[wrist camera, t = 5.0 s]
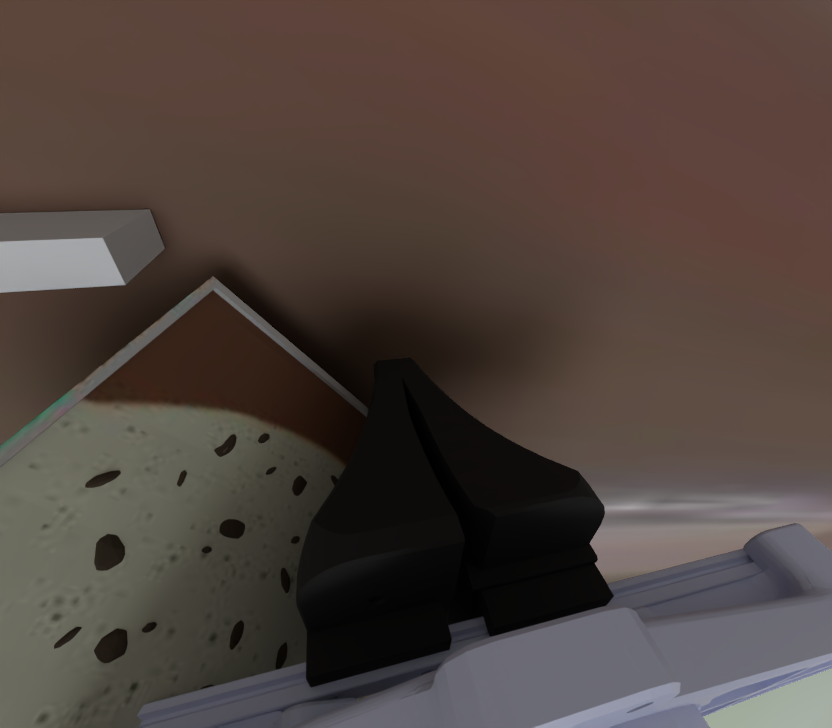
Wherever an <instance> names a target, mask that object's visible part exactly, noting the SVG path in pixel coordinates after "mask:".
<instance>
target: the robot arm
mask: <svg viewBox="0 0 832 728" xmlns="http://www.w3.org/2000/svg"><path fill="white" fill-rule="evenodd" d="M374 379H375V382H374V389H373V394H372V399H371V404H370V407H369V411H368V414H367V418H366V421H365V424H364V427H363V429H362V432H361V435H360V437H359V440H358V442H357V444H356V447H355V449H354V451H353V453H352V455H351V457H350V459H349V461H348V463H347V465H346V467H345V469H344V471H343V472H342V474H341V476H340V478H339V479H338V481H337V483H336V484H335V486H334V488H333V490H332V491H331V493H330V494H329V496H328V497H327V499H326V500H325V502H324V503H323V505H322V506H321V507H320V509H319V510H318V512H317V513H316V515H315V516H314V518H313V519H312V521H311V523H310V526H309V529H308V532H307V535H306V538H305V542H304V545H303V549H302V552H301V556H300V561H299V566H298V573H297V588H296V603H297V608H298V611H299V613H300V615H301V618H302V620H303V623H304V625H305V628H306V630H307V649H306V662H304V663H300V664H297V665H293V666H289V667H285V668H281V669H277V670H273V671H270V672H266V673H262V674H258V675H254V676H250V677H246V678H243V679H239V680H235V681H231V682H227V683H223V684H219V685H216V686H212V687H208V688H204V689H200V690H196V691H192V692H189V693H185V694H181V695H177V696H173V697H169V698H166V699H162V700H158V701H154V702H150V703H146V704H145V705H143V707H142V708H141V710H140V711H139V713H138V715H137V717H139V718H140V719H141V720H142V722H141V724H140V726H138V727H136V728H710V727H709V726H708V724H707V722H706V721H705V719H704V718H703V716H706V715H709V714H711V713H714V712H716V711H719V710H722V709H724V708H727V707H729V706H732V705H735V704H737V703H740V702H743V701H745V700H748V699H750V698H753V697H756V696H758V695H761V694H764V693H766V692H769V691H771V690H774V689H777V688H779V687H782V686H785V685H787V684H790V683H793V682H795V681H798V680H801V679H803V678H806V677H809V676H812V675H814V674H817V673H820V672H823V671H825V670H828V669H831V668H832V551H831V550H829V549H828V548H827V547H826V546H825V545H824V544H822V543H821V542H820V541H819V540H818V539H817V538H816V537H814V536H813V535H812V534H811V533H810V532H809V531H807V530H806V529H805V528H804V527H803V526H802V525H800V524H796V523H794V524H790V525H786V526H782V527H778V528H774V529H770V530H766V531H764V532H761V533H759V534H757V535H756V536H754V537H753V538H752V539H750V540H749V541H748V542H747V543H746V544H745V545H744V548H743V549H740V550H736V551H732V552H728V553H725V554H721V555H717V556H713V557H709V558H705V559H701V560H698V561H694V562H690V563H686V564H682V565H678V566H674V567H671V568H667V569H663V570H659V571H655V572H651V573H647V574H644V575H640V576H636V577H632V578H628V579H624V580H620V581H617V582H613V583H609V584H607V583H606V582H605V580H604V578H603V577H602V575H601V573H600V572H599V570H598V568H597V567H596V565H595V562H596V561H597V560H598V559H597V555H596V553H595V552H594V550H593V549H592V547H591V545H590V544H589V543H590V541H591V540H592V538H593V536H594V535H595V533H596V531H597V530H598V528H599V526H600V525H601V523H602V520H603V518H604V514H605V511H604V505H603V504H602V503H601V501H600V500H599V498H598V497H597V496H596V494H595V492H594V491H593V490H592V488H591V487H590V485H589V484H588V483H587V482H586V480H585V479H584V478H583V477H582V475H581V474H580V473H579V472H578V471H576V470H574V469H571V468H569V467H567V466H564V465H562V464H559V463H557V462H554V461H552V460H549V459H547V458H544V457H542V456H540V455H538V454H536V453H534V452H532V451H530V450H528V449H526V448H523V447H522V446H520V445H518V444H516V443H514V442H512V441H510V440H508V439H507V438H505V437H503V436H502V435H500V434H498V433H497V432H495V431H493V430H492V429H490V428H488V427H487V426H485V425H484V424H482V423H481V422H480V421H478V420H477V419H475V418H474V417H473V416H471V415H470V414H468V413H467V412H466V411H465V410H463V409H462V408H461V407H460V406H459V405H457V404H456V403H455V402H454V401H453V400H452V399H450V398H449V397H448V396H447V395H446V394H445V393H444V392H443V391H442V390H441V389H440V388H439V387H438V386H437V385H436V384H435V383H434V382H433V381H432V380H431V379H430V378H429V377H428V376H427V375H426V374H425V373H424V372H423V371H422V370H421V368H420V367H419V366H418V365H417V364H416V363H415V362H414V360H412V359H411V358H403V359H393V360H384V361H377V362H376V363H375V364H374ZM374 693H376V694H374ZM371 694H373V695H371ZM367 695H371V696H368V697H366V698H363V699H360V700H358V701H357V700H356V699H357V698H360V697H364V696H367Z"/></svg>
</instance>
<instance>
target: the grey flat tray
mask: <svg viewBox="0 0 832 728" xmlns="http://www.w3.org/2000/svg"><path fill="white" fill-rule="evenodd" d="M164 249H165V247H164V245H163V242H162V239H161V237H160V234H159V232H158V229H157V227H156V224H155V222H154V219H153V216H152V214H151V211H150V209H144V210H105V211H65V212H26V213H0V293H1V292H18V291H34V290H51V289H67V288H84V287H100V286H116V285H126V284H127V283H128V282H129V281H130V280H131V279H133V278H134V277H135V276H136V275H137V274H138V273H139V272H140V271H141V270H142V269H143V268H144V267H146V266H147V265H148V264H149V263H150V262H151V261H152V260H153V259H154V258H155V257H156V256H158V255H159V254H160V253H161V252H162V251H163V250H164Z"/></svg>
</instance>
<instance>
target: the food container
mask: <svg viewBox="0 0 832 728" xmlns="http://www.w3.org/2000/svg"><path fill="white" fill-rule="evenodd" d="M368 411H369V409H368V408H367V407H366V406H365V405H364V404H363V403H361V402H360V401H359V400H358V399H357V398H355V397H354V396H353V395H352V394H351V393H350V392H348V391H347V390H346V389H345V388H344V387H343V386H341V385H340V384H339V383H338V382H337V381H336V380H334V379H333V378H332V377H331V376H330V375H328V374H327V373H326V372H325V371H324V370H323V369H321V368H320V367H319V366H318V365H317V364H316V363H314V362H313V361H312V360H311V359H310V358H309V357H307V356H306V355H305V354H304V353H303V352H301V351H300V350H299V349H298V348H297V347H296V346H294V345H293V344H292V343H291V342H290V341H289V340H287V339H286V338H285V337H284V336H283V335H281V334H280V333H279V332H278V331H277V330H276V329H274V328H273V327H272V326H271V325H270V324H269V323H267V322H266V321H265V320H264V319H263V318H262V317H260V316H259V315H258V314H257V313H256V312H254V311H253V310H252V309H251V308H250V307H249V306H247V305H246V304H245V303H244V302H243V301H242V300H240V299H239V298H238V297H237V296H236V295H235V294H233V293H232V292H231V291H230V290H229V289H227V288H226V287H225V286H224V285H223V284H222V283H220V282H219V281H218V280H217V279H216V278H215V277H213V276H212V277H211V278H210V279H209V280H207V281H206V282H205V283H204V284H202V285H201V286H200V287H199V288H197V289H196V290H195V291H194V292H192V293H191V294H190V295H189V296H187V297H186V298H185V299H184V300H182V301H181V302H180V303H179V304H177V305H176V306H175V307H174V308H172V309H171V310H170V311H169V312H167V313H166V314H165V315H164V316H162V317H161V318H160V319H159V320H157V321H156V322H155V323H154V324H152V325H151V326H150V327H149V328H147V329H146V330H145V331H144V332H142V333H141V334H140V335H139V336H137V337H136V338H135V339H134V340H132V341H131V342H130V343H129V344H127V345H126V346H125V347H124V348H122V349H121V350H120V351H119V352H117V353H116V354H115V355H114V356H112V357H111V358H110V359H109V360H107V361H106V362H105V363H104V364H102V365H101V366H100V367H99V368H97V369H96V370H95V371H94V372H92V373H91V374H90V375H89V376H87V377H86V378H85V379H84V380H82V381H81V382H80V383H79V384H77V385H76V386H75V387H74V388H72V389H71V390H70V391H69V392H67V393H66V394H65V395H63V396H62V397H61V398H60V399H58V400H57V401H56V402H55V403H53V404H52V405H51V406H50V407H48V408H47V409H46V410H45V411H43V412H42V413H41V414H40V415H38V416H37V417H36V418H35V419H33V420H32V421H31V422H30V423H28V424H27V425H26V426H25V427H23V428H22V429H21V430H20V431H18V432H17V433H16V434H15V435H13V436H12V437H11V438H10V439H8V440H7V441H6V442H5V443H3V444H2V445H1V446H0V728H136V727H138V726H140V724H141V722H142V720H141V719H140V718H139V717H137V715H138V713H139V711H140V710H141V708H142V707H143V705H145V704H146V703H150V702H154V701H158V700H162V699H166V698H169V697H173V696H177V695H181V694H185V693H189V692H192V691H196V690H200V689H204V688H208V687H212V686H216V685H219V684H223V683H227V682H231V681H235V680H239V679H243V678H246V677H250V676H254V675H258V674H262V673H266V672H270V671H273V670H277V669H281V668H285V667H289V666H293V665H297V664H300V663H304V662H306V649H307V630H306V628H305V625H304V623H303V620H302V618H301V615H300V613H299V611H298V608H297V603H296V588H297V573H298V566H299V561H300V556H301V552H302V549H303V545H304V542H305V538H306V535H307V532H308V529H309V526H310V523H311V521H312V519H313V518H314V516H315V515H316V513H317V512H318V510H319V509H320V507H321V506H322V505H323V503H324V502H325V500H326V499H327V497H328V496H329V494H330V493H331V491H332V490H333V488H334V486H335V484H336V483H337V481H338V479H339V478H340V476H341V474H342V472H343V471H344V469H345V467H346V465H347V463H348V461H349V459H350V457H351V455H352V453H353V451H354V449H355V447H356V444H357V442H358V440H359V437H360V435H361V432H362V429H363V427H364V424H365V421H366V418H367V414H368ZM374 694H376V693H374ZM371 695H373V694H371ZM371 695H367V696H364V697H360V698H357V699H356V700H357V701H358V700H360V699H363V698H366V697H368V696H371Z"/></svg>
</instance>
